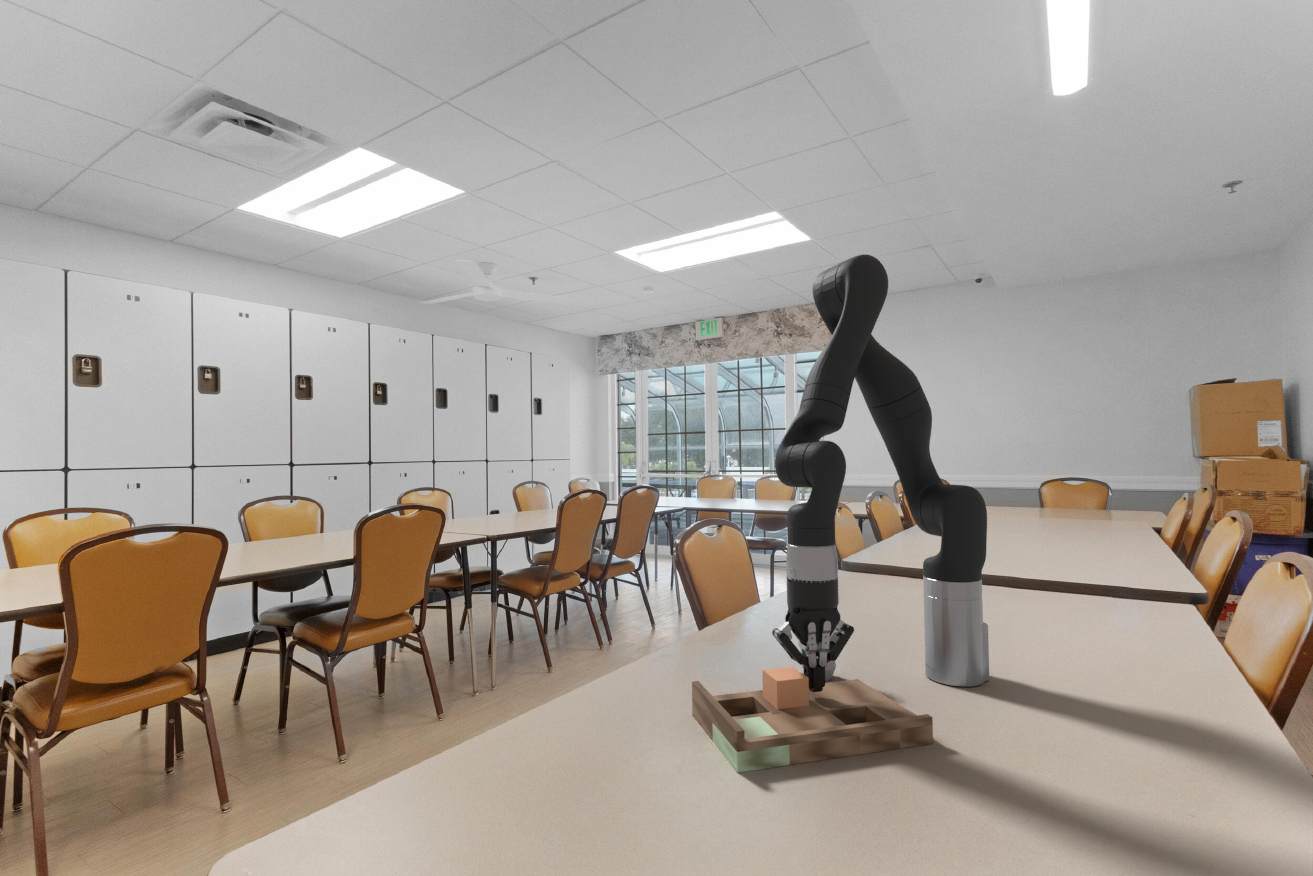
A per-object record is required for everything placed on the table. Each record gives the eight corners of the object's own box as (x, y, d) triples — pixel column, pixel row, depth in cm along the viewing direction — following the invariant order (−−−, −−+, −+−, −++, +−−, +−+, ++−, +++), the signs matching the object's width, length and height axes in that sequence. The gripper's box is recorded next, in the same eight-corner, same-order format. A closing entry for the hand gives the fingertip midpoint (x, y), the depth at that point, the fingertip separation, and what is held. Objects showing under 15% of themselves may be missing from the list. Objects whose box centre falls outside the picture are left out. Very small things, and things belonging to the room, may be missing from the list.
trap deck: (857, 694, 103) (857, 663, 103) (933, 743, 85) (932, 705, 85) (692, 715, 96) (691, 681, 96) (737, 772, 78) (736, 731, 78)
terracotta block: (793, 693, 97) (792, 666, 97) (809, 705, 92) (808, 677, 92) (762, 696, 96) (762, 669, 96) (777, 709, 91) (776, 681, 91)
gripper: (838, 567, 101) (840, 677, 101) (761, 572, 98) (763, 686, 97) (865, 575, 94) (868, 694, 93) (782, 581, 90) (785, 705, 90)
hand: (814, 690), depth 95 cm, fingers closed
